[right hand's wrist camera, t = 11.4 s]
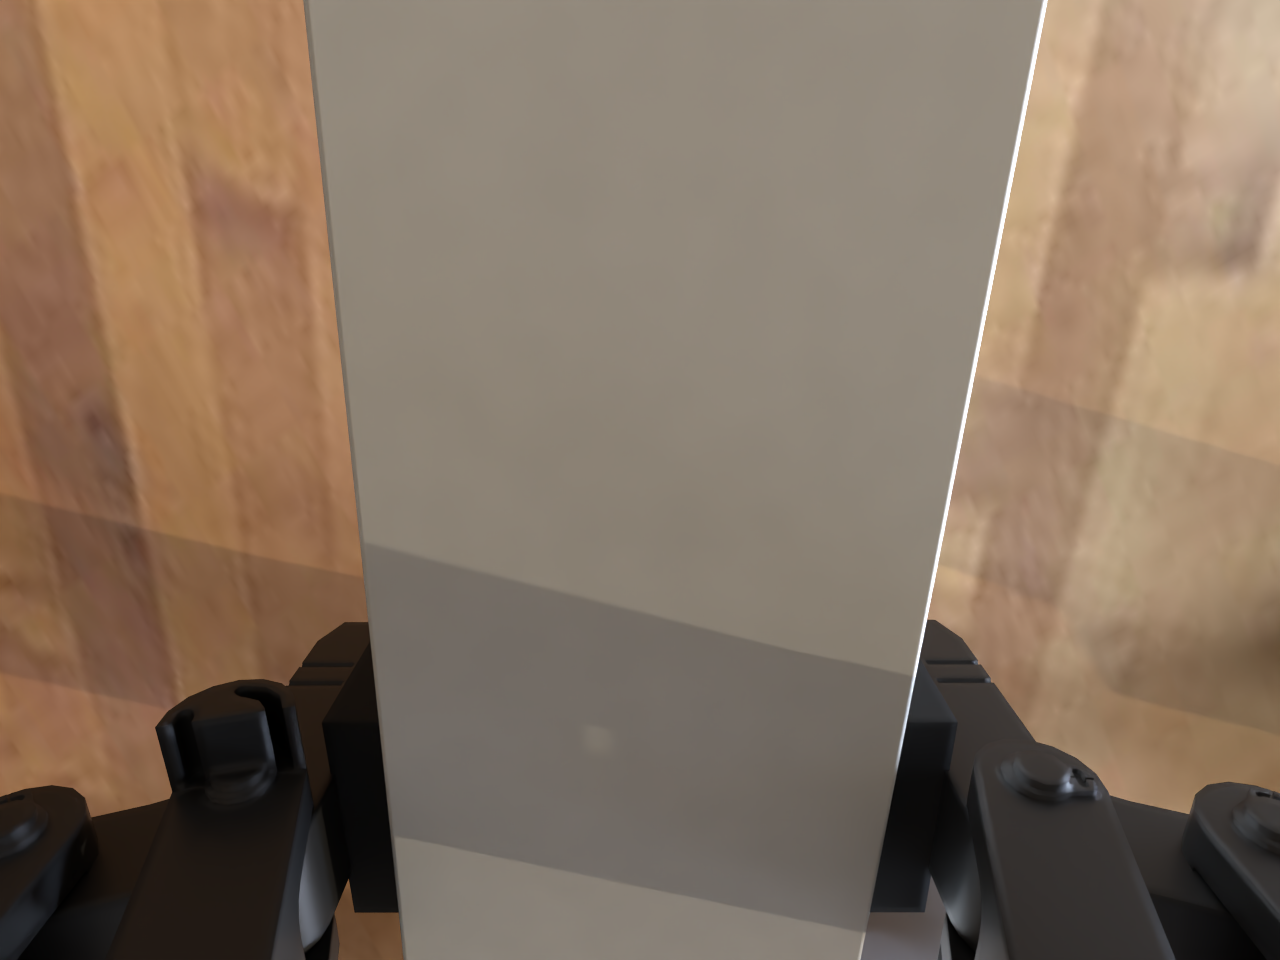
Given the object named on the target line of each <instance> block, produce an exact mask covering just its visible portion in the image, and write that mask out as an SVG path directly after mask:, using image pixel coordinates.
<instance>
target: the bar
mask: <svg viewBox="0 0 1280 960" xmlns="http://www.w3.org/2000/svg"><path fill="white" fill-rule="evenodd" d="M303 1H304V11H305V20H306V30H307V39H308V49H309V58H310V68H311V77H312V87H313V97H314V106H315V116H316V125H317V135H318V144H319V154H320V164H321V173H322V183H323V192H324V202H325V211H326V221H327V230H328V240H329V250H330V259H331V269H332V278H333V288H334V297H335V307H336V317H337V326H338V336H339V345H340V355H341V364H342V374H343V383H344V393H345V403H346V412H347V422H348V431H349V441H350V450H351V460H352V469H353V479H354V489H355V498H356V508H357V517H358V527H359V536H360V546H361V556H362V565H363V575H364V584H365V594H366V603H367V613H368V622H369V632H370V642H371V651H372V661H373V670H374V680H375V689H376V699H377V709H378V718H379V728H380V737H381V747H382V756H383V766H384V775H385V785H386V795H387V804H388V814H389V823H390V833H391V842H392V852H393V862H394V871H395V881H396V890H397V900H398V909H399V919H400V928H401V938H402V948H403V957H404V960H860V959H861V954H862V949H863V944H864V939H865V934H866V928H867V923H868V918H869V913H870V908H871V903H872V898H873V893H874V887H875V882H876V877H877V872H878V867H879V862H880V857H881V851H882V846H883V841H884V836H885V831H886V826H887V821H888V816H889V810H890V805H891V800H892V795H893V790H894V785H895V780H896V774H897V769H898V764H899V759H900V754H901V749H902V744H903V739H904V733H905V728H906V723H907V718H908V713H909V708H910V703H911V698H912V692H913V687H914V682H915V677H916V672H917V667H918V662H919V656H920V651H921V646H922V641H923V636H924V631H925V626H926V621H927V615H928V610H929V605H930V600H931V595H932V590H933V585H934V579H935V574H936V569H937V564H938V559H939V554H940V549H941V544H942V538H943V533H944V528H945V523H946V518H947V513H948V508H949V502H950V497H951V492H952V487H953V482H954V477H955V472H956V467H957V461H958V456H959V451H960V446H961V441H962V436H963V431H964V426H965V420H966V415H967V410H968V405H969V400H970V395H971V390H972V384H973V379H974V374H975V369H976V364H977V359H978V354H979V349H980V343H981V338H982V333H983V328H984V323H985V318H986V313H987V307H988V302H989V297H990V292H991V287H992V282H993V277H994V272H995V266H996V261H997V256H998V251H999V246H1000V241H1001V236H1002V230H1003V225H1004V220H1005V215H1006V210H1007V205H1008V200H1009V195H1010V189H1011V184H1012V179H1013V174H1014V169H1015V164H1016V159H1017V153H1018V148H1019V143H1020V138H1021V133H1022V128H1023V123H1024V118H1025V112H1026V107H1027V102H1028V97H1029V92H1030V87H1031V82H1032V77H1033V71H1034V66H1035V61H1036V56H1037V51H1038V46H1039V41H1040V35H1041V30H1042V25H1043V20H1044V15H1045V10H1046V5H1047V0H303Z"/></svg>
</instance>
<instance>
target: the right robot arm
mask: <svg viewBox="0 0 1280 960" xmlns="http://www.w3.org/2000/svg"><path fill="white" fill-rule="evenodd" d="M990 679H991V678H990V677H989V675H988V674H987V673H986V671H985V670H984V668H983V667H982V666H981V665H978V660H977V659H976V657H975V656H974V654H973V653H972V652H971V650H970V649H969V648H968V646H967V645H966V643H965V642H964V641H963V639H962V638H961V637H959V636H958V635H956V634H955V633H953V632H952V631H950V630H949V629H947V628H946V627H945V626H943V625H942V624H940V623H939V622H937V621H936V620H927V621H926V626H925V631H924V636H923V641H922V646H921V651H920V656H919V662H918V667H917V672H916V677H915V682H914V687H913V692H912V698H911V703H910V708H909V713H908V718H907V723H906V728H905V733H904V739H903V744H902V749H901V754H900V759H899V764H898V769H897V774H896V780H895V785H894V790H893V795H892V800H891V805H890V810H889V816H888V821H887V826H886V831H885V836H884V841H883V846H882V851H881V857H880V862H879V867H878V872H877V877H876V882H875V887H874V893H873V898H872V903H871V908H870V913H869V918H868V923H867V928H866V934H865V939H864V944H863V949H862V954H861V959H860V960H1280V793H1277V792H1275V791H1274V792H1273V791H1270V790H1268V789H1264V788H1261V787H1258V786H1254V785H1247V784H1240V783H1233V782H1224V783H1217V784H1210V785H1207V786H1205V787H1204V788H1203V789H1202V790H1200V791H1199V792H1198V793H1197V794H1196V795H1195V798H1194V801H1193V804H1192V807H1191V810H1190V814H1185V813H1181V812H1176V811H1172V810H1167V809H1163V808H1158V807H1154V806H1149V805H1145V804H1140V803H1135V802H1131V801H1127V800H1124V799H1120V798H1117V797H1113V796H1110V795H1109V793H1108V791H1107V789H1106V788H1105V786H1104V785H1103V783H1102V782H1101V780H1100V779H1099V777H1098V776H1097V775H1096V773H1094V772H1093V771H1092V770H1091V769H1089V768H1088V767H1087V766H1086V765H1084V764H1083V763H1082V762H1081V761H1079V760H1078V759H1077V758H1075V757H1073V756H1071V755H1069V754H1067V753H1065V752H1063V751H1061V750H1059V749H1057V748H1055V747H1052V746H1049V745H1045V744H1041V743H1038V742H1036V741H1035V740H1034V738H1033V737H1032V736H1031V734H1030V733H1029V731H1028V730H1027V729H1026V727H1025V726H1024V724H1023V723H1022V722H1021V720H1020V719H1019V717H1018V716H1017V715H1016V713H1015V712H1014V710H1013V709H1012V708H1011V706H1010V705H1009V703H1008V702H1007V701H1006V699H1005V698H1004V696H1003V695H1002V694H1001V692H1000V691H999V689H998V688H997V687H996V685H995V684H994V683H991V681H990ZM289 682H290V683H289V686H286V687H285V686H284V685H283V684H282V683H278V682H273V681H269V680H265V679H254V680H238V681H234V682H229V683H225V684H221V685H217V686H213V687H211V688H208V689H206V690H204V691H201V692H199V693H197V694H194V695H192V696H190V697H188V698H186V699H185V700H184V701H182V702H181V703H179V704H178V705H176V706H175V707H174V708H172V709H171V710H169V711H168V712H167V713H166V714H165V716H164V717H163V718H162V719H161V721H160V722H159V723H158V725H157V726H156V727H155V729H156V732H157V736H158V740H159V743H160V747H161V751H162V755H163V758H164V762H165V766H166V770H167V773H168V777H169V781H170V785H171V788H172V794H171V797H170V799H167V800H164V801H160V802H157V803H154V804H150V805H146V806H141V807H137V808H132V809H128V810H123V811H119V812H114V813H110V814H105V815H101V816H96V817H92V818H91V816H90V813H89V809H88V806H87V803H86V800H85V798H84V797H83V796H82V795H81V794H79V793H78V792H77V791H76V790H74V789H73V788H68V787H60V786H53V785H51V786H43V787H36V788H29V789H24V790H21V791H18V792H14V793H11V794H9V795H4V796H2V797H0V960H338V954H339V937H338V930H337V924H336V919H335V914H334V912H335V910H336V907H337V905H338V902H339V900H340V898H341V895H342V893H343V891H344V888H345V886H346V883H347V881H348V879H349V882H350V888H351V894H352V900H353V905H354V911H355V912H399V909H398V900H397V890H396V881H395V871H394V862H393V852H392V842H391V833H390V823H389V814H388V804H387V795H386V785H385V775H384V766H383V756H382V747H381V737H380V728H379V718H378V709H377V699H376V689H375V680H374V670H373V661H372V651H371V642H370V632H369V622H345V623H343V624H342V625H340V626H339V627H337V628H336V629H335V630H333V631H332V632H330V633H329V634H327V635H326V636H324V637H323V638H322V639H320V640H319V641H318V642H317V643H316V644H315V646H314V647H313V649H312V650H311V651H310V653H309V654H308V656H307V657H306V658H305V660H304V661H303V663H302V667H299V668H298V670H297V671H296V673H295V674H294V675H293V677H292V678H291V680H290V681H289Z"/></svg>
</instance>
